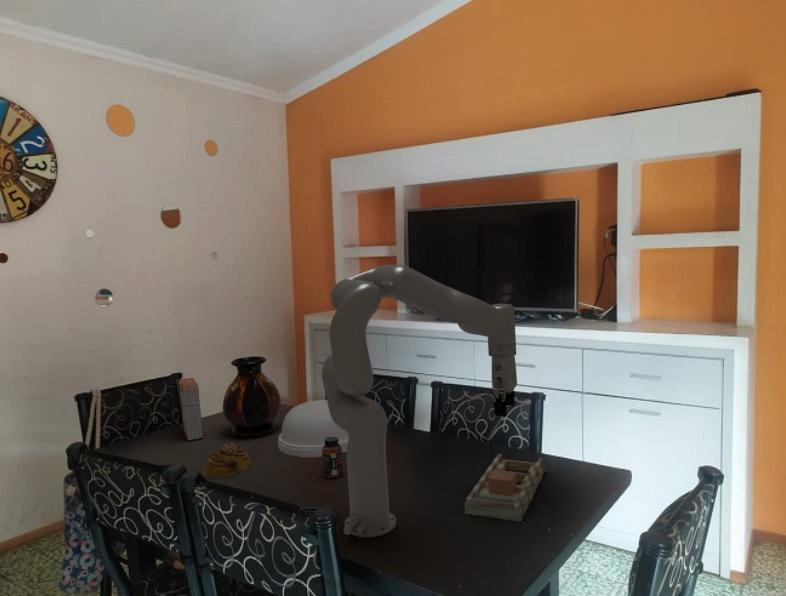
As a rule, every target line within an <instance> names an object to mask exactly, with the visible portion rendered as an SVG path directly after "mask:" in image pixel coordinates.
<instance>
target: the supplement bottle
mask: <svg viewBox="0 0 786 596" xmlns="http://www.w3.org/2000/svg"><path fill="white" fill-rule="evenodd" d="M321 458H322V471H323V472H322V473H323V476H324V477H325V478H328V479H336V478H339V477H341V476H343V474H344V467H343V466H344V465H343V453H342V447H341V445H340V444H339V443H338V438H337V437H327V438H325V445H324V446H323V447H322V457H321Z"/></svg>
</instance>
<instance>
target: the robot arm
mask: <svg viewBox="0 0 786 596" xmlns="http://www.w3.org/2000/svg"><path fill="white" fill-rule="evenodd" d="M386 298H388V299H394V300H396V301H399V302H401V303H403V304H405V305H407V306H410V307H412V308H414V309H416V310H417V311H420V312H422V313H425V314H427V315H428V316H431V317H434V318H437V319H440V320H445V321H450V322H455V323H457V325H458V328H460V330H462V331H463V332H464V333H466V334H471V335H475V336H482V337H485V338H486V337H487V348H488V349H487V350H488V356H489V357H491V388H492V389H491V390H492V391H493V411H494V412H493V413H494V416H497V417H498V416H499V417H507V414H508V413H507V411H508V410H507V407H514V406H515V405H516V404H515V402H516V401H515V399H516V398H515V388H516V387H517V385H518V376H517V373H518V372H517V366H516V365H517V364H516V355H517V337H516V333H517V332H516V318H515V317H516V316H515V315H516V314H515V308H514V306H513V305H512V304H510V303H494V304H490V303H487V302H486V301H483V300H482V299H479V298H477V297H474V296H472V295H469V294H466V293H464V292H461V291H460V290H457V289H455V288H452V287H450V286H448V285H445V284H443V283H441V282H438V281H436V280H435V279H433V278H431V277H428V276H426V275H425V274H423V273H421V272H419V271H417V270H415V269H413V268H412V267H409V266H406V265H404V264H383V265H379V266H377V267H373V268H371V269H368V270H365V271H363V272H361V273H357V274H355V275H352V276H349V277H346V278H343V279H342V280H340V281H338V282H337V283H336V284H334V286H333V287H332V289H331V293H330V302H331V305H332V307H334V309H335V310H336V311H335V312H334V314H333V316H332V319H331V322H330V324H329V325H330V326H329V330H328V331H329V335H328V337H329V342H330V343H329V344H330V349H331V353H330V354H329V355H328V356H327V357H326V359H325V360H324V362H323V365H322V368H321V378H322V384H323V389H324V393H325V398H326V400H327V403H328V407H329V411H330V414H331V417H332V419H333V421H334V422H335V424H336V425H338V426H339V427H340V428H342V429H343V430H345V431H346V432H348V435H349V439H348V445H347V453H345V454H346V456H345V457H346V466H347V467H346V468H347V484H348V497H349V498H348V499H349V501H348V502H349V515H348V517H347V518H346V519H345V521H344V528H343V533H344V534H345V535H347V536H349V535H351V534H352V536H353V535H354V537H357V536H358V537H357V538H366V537H368V538H376V536H377V537H381V536H383V535H387V534H388V533H390V532H392V531H393V530H394V529H395V527H396V526H397V518H396V516H395V515H394V514H393V513H391V512H390V504H389V503H390V502H389V487H388V470H387V467H388V465H387V453H386V445H387V444H386V443H387V441H386V439H387V433H388V432H387V431H388V418H387V413H386V411H385V410H384V408H383V407H382V406H381V405H380V404H379V403H378V402H377V401H375V400H373V399H371V398H369V397H367V396H364V395H366V394H367V393H369V391H371V389H372V387H373V384H374V371H373V368H372V367H373V366H372V363H371V357H370V351H369V347H368V342H367V326H368V324H369V322H370V321H371V319H372V317H373V315H375V313H376V312H377V311H378V310H379V308H380V306H381V302H382V300H383V299H386ZM386 533H387V534H386Z"/></svg>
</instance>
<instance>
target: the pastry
mask: <svg viewBox="0 0 786 596" xmlns="http://www.w3.org/2000/svg"><path fill="white" fill-rule="evenodd" d="M251 467H252V461H251V458H250V455H249V454H248V453H247V452H244V450H243V449H242V448H241V447H240V446H239V445H238V444H237V443H234V442H229V443H225V444H224V445H223V446H222V447H220V449H219V450H216V451H215V453H214V454H210V455H209V457H208V458H207V461H206V463H205V465H204V466H203V469H202V470H201V473H202V474H203V475H204V476H206V477H225V476H233V475H235V474H236V473H237V472H241V471H244V470H246V469H248V468H249V469H251ZM249 469H248V470H249ZM246 471H247V470H246ZM244 472H245V471H244ZM241 473H242V472H241ZM236 475H237V474H236ZM236 475H235V476H236ZM206 477H204V478H206ZM233 477H234V476H233ZM206 479H207V478H206Z"/></svg>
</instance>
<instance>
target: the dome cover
mask: <svg viewBox="0 0 786 596" xmlns="http://www.w3.org/2000/svg"><path fill="white" fill-rule="evenodd" d="M327 437H337V438H338V443H339V444H340V445H341V447H342V454H343V453H344V452H347V445H348V439H349V435H348V432H346V431H345V430H343V429H342V428H340V427H339V426H338V425H336V424H335V422H334V421H333V419H332V417H331V414H330V411H329V407H328V403H327V399H318V400H317V399H316V400H311V401H306V402H303V403H299V404H297V405H296V406H294V407H292V408H291V409H290V410H289V411H288V412H287V413H286V415H285V416H284V419H283V422H282V426H281V433H280V434H279V435H278V439H277V447H278V448H279V449H278V450H279V451H280V452H281V451H282V452H283V453H282V452H281V453H282V454H284V453H286V454H285V455H287V454H288V455H287V456H291V455H293V456H292V457H296V456H298V458H320V457H321V458H322V447H323V446H324V445H325V438H327Z"/></svg>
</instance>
